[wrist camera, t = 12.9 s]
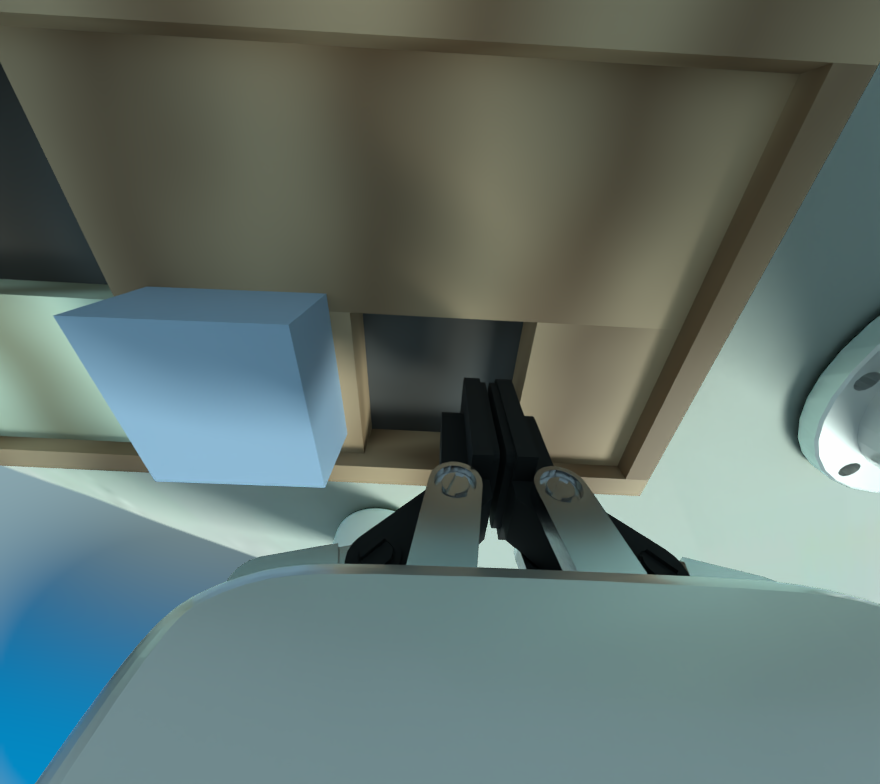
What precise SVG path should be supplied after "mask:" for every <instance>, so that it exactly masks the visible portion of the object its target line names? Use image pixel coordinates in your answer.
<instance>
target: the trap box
mask: <svg viewBox="0 0 880 784" xmlns="http://www.w3.org/2000/svg"><path fill="white" fill-rule="evenodd" d="M879 63H880V0H0V465H2V466H22V467H43V468H64V469H85V470H106V471H127V472H148V473H150V472H149V471H148V469H147V467H146V466H145V464H144V463H143V461H142V459H141V458H140V456H139V454H138V453H137V451H136V450H135V448H134V446H133V445H132V443H131V441H130V440H129V438H128V437H127V435H126V433H125V432H124V430H123V429H122V427H121V425H120V424H119V422H118V420H117V419H116V417H115V416H114V414H113V412H112V411H111V409H110V407H109V406H108V404H107V403H106V401H105V399H104V398H103V396H102V394H101V393H100V391H99V390H98V388H97V386H96V385H95V383H94V381H93V380H92V378H91V377H90V375H89V373H88V372H87V370H86V369H85V367H84V365H83V364H82V362H81V360H80V359H79V357H78V356H77V354H76V352H75V351H74V349H73V347H72V346H71V344H70V343H69V341H68V339H67V338H66V336H65V334H64V333H63V331H62V330H61V328H60V326H59V325H58V323H57V321H56V320H55V318H54V317H53V315H57V314H60V313H63V312H66V311H69V310H73V309H76V308H79V307H82V306H86V305H89V304H92V303H95V302H98V301H102V300H105V299H108V298H111V297H115V296H118V295H121V294H124V293H128V292H131V291H134V290H137V289H140V288H144V287H171V288H196V289H221V290H247V291H272V292H298V293H323V294H326V295H327V302H328V308H329V315H330V322H331V328H332V335H333V342H334V348H335V355H336V361H337V368H338V375H339V381H340V388H341V395H342V401H343V408H344V414H345V421H346V428H347V436H346V438H345V441H344V443H343V446H342V448H341V450H340V453H339V455H338V458H337V460H336V462H335V465H334V467H333V470H332V472H331V475H330V477H329V479H328V481H336V482H357V483H378V484H399V485H420V486H427V482H428V478H429V476H430V474H431V471H432V470H433V469H434V468H435V467H436V466H438V465H439V456H440V430H441V415H442V412H454V413H460V409H461V399H462V389H463V380H464V377H466V378H479V379H480V382H485V384H486V388H487V392H488V385H489V383H494V381H495V379H508V380H512V383H513V385H514V388H515V391H516V394H517V397H518V399H519V402H520V405H521V408H522V411H523V413H524V416H533V417H534V418H535V420H536V423H537V425H538V428H539V430H540V433H541V435H542V438H543V440H544V443H545V445H546V448H547V450H548V453H549V455H550V458H551V460H552V463H553V465H554V466H558V467H562V468H566V469H568V470H570V471H572V472H574V473H576V474H577V475H578V476H580V477H581V478H582V479H583V480H584V481H585V483H586V484H587V485H588V487H589V488H590V490H591V491H592V493H593V494H608V495H629V496H640V495H641V493H642V491H643V489H644V488H645V486H646V484H647V482H648V480H649V479H650V477H651V475H652V473H653V471H654V469H655V468H656V466H657V464H658V462H659V460H660V459H661V457H662V455H663V453H664V451H665V450H666V448H667V446H668V444H669V442H670V441H671V439H672V437H673V435H674V433H675V432H676V430H677V428H678V426H679V424H680V423H681V421H682V419H683V417H684V415H685V413H686V412H687V410H688V408H689V406H690V404H691V403H692V401H693V399H694V397H695V395H696V394H697V392H698V390H699V388H700V386H701V385H702V383H703V381H704V379H705V377H706V376H707V374H708V372H709V370H710V368H711V367H712V365H713V363H714V361H715V359H716V358H717V356H718V354H719V352H720V350H721V348H722V347H723V345H724V343H725V341H726V339H727V338H728V336H729V334H730V332H731V330H732V329H733V327H734V325H735V323H736V321H737V320H738V318H739V316H740V314H741V312H742V311H743V309H744V307H745V305H746V303H747V302H748V300H749V298H750V296H751V294H752V292H753V291H754V289H755V287H756V285H757V283H758V282H759V280H760V278H761V276H762V274H763V273H764V271H765V269H766V267H767V265H768V264H769V262H770V260H771V258H772V256H773V255H774V253H775V251H776V249H777V247H778V246H779V244H780V242H781V240H782V238H783V237H784V235H785V233H786V231H787V229H788V227H789V226H790V224H791V222H792V220H793V218H794V217H795V215H796V213H797V211H798V209H799V208H800V206H801V204H802V202H803V200H804V199H805V197H806V195H807V193H808V191H809V190H810V188H811V186H812V184H813V182H814V181H815V179H816V177H817V175H818V173H819V171H820V170H821V168H822V166H823V164H824V162H825V161H826V159H827V157H828V155H829V153H830V152H831V150H832V148H833V146H834V144H835V143H836V141H837V139H838V137H839V135H840V134H841V132H842V130H843V128H844V126H845V125H846V123H847V121H848V119H849V117H850V116H851V114H852V112H853V110H854V108H855V106H856V105H857V103H858V101H859V99H860V97H861V96H862V94H863V92H864V90H865V88H866V87H867V85H868V83H869V81H870V79H871V78H872V76H873V74H874V72H875V70H876V69H877V67H878V65H879Z"/></svg>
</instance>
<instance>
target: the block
mask: <svg viewBox="0 0 880 784" xmlns="http://www.w3.org/2000/svg"><path fill="white" fill-rule="evenodd" d="M53 317H54V318H55V320H56V321H57V323H58V325H59V326H60V328H61V330H62V331H63V333H64V334H65V336H66V338H67V339H68V341H69V343H70V344H71V346H72V347H73V349H74V351H75V352H76V354H77V356H78V357H79V359H80V360H81V362H82V364H83V365H84V367H85V369H86V370H87V372H88V373H89V375H90V377H91V378H92V380H93V381H94V383H95V385H96V386H97V388H98V390H99V391H100V393H101V394H102V396H103V398H104V399H105V401H106V403H107V404H108V406H109V407H110V409H111V411H112V412H113V414H114V416H115V417H116V419H117V420H118V422H119V424H120V425H121V427H122V429H123V430H124V432H125V433H126V435H127V437H128V438H129V440H130V441H131V443H132V445H133V446H134V448H135V450H136V451H137V453H138V454H139V456H140V458H141V459H142V461H143V463H144V464H145V466H146V467H147V469H148V471H149V472H150V474H151V476H152V477H153V479H154V480H155V481H160V482H186V483H213V484H239V485H265V486H292V487H318V488H325V487H326V484H327V482H328V479H329V477H330V475H331V472H332V470H333V467H334V465H335V462H336V460H337V458H338V455H339V453H340V450H341V448H342V446H343V443H344V441H345V438H346V436H347V428H346V421H345V414H344V408H343V401H342V395H341V388H340V381H339V375H338V368H337V361H336V355H335V348H334V342H333V335H332V328H331V322H330V315H329V308H328V302H327V295H326V294H323V293H298V292H272V291H247V290H221V289H196V288H171V287H144V288H140V289H137V290H134V291H131V292H128V293H124V294H121V295H118V296H115V297H111V298H108V299H105V300H102V301H98V302H95V303H92V304H89V305H86V306H82V307H79V308H76V309H73V310H69V311H66V312H63V313H60V314H57V315H53Z"/></svg>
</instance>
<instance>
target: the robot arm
mask: <svg viewBox="0 0 880 784" xmlns="http://www.w3.org/2000/svg"><path fill="white" fill-rule="evenodd" d="M798 440H799V443H800V447H801V451H802V453H803V454H804V456H805V457H806V458H807V460H808V461H809V462H810V464H812V465H813V466H814V467H816V468H817V469H818V470H820V471H821V472H822V473H823V474H825V475H826V476H827V477H829V478H830V479H832V480H833V481H835V482H837V483H840V484H842V485H844V486H846V487H849V488H853V489H858V490H863V491H867V492H880V316H878V317H877V318H876V319H874V320H873V321H872V322H871V323H869V324H868V325H867V326H866V327H865V328H864V329H863V330H862V331H861V332H860V333H859V334H858V335H857V336H856V337H854V338H853V339H852V340H851V341H850V342H849V343H848V344H847V345H846V346H845V347H844V348H843V349H842V350H841V351H840V352H839V353H838V355H837V356H836V357H835V358H834V360H833V361H832V362H831V363H830V364H829V366H828V367H827V368H826V369H825V370H824V372H823V373H822V374H821V375H820V377H819V379H818V380H817V382H816V384H815V385H814V387H813V389H812V390H811V392H810V394H809V395H808V397H807V399H806V402H805V405H804V408H803V411H802V413H801V416H800V419H799V430H798ZM489 518H490V525H491V528H497V534H498V540H506V541H507V542H509V543H510V544H511V545H512V546H513V547H514V555H515V560H516V562H517V565H518V568H519V569H506V568H479V567H477V563H478V548H479V544H480V543H481V542H482V541H483V540H484V537H485V532H486V528H487V524H488V519H489ZM35 784H880V605H879V604H877V603H874V602H871V601H868V600H865V599H861V598H857V597H854V596H850V595H846V594H842V593H838V592H834V591H831V590H826V589H820V588H814V587H809V586H803V585H797V584H789V583H780V582H776V581H774V580H771V579H768V578H766V577H762V576H758V575H754V574H750V573H746V572H742V571H738V570H734V569H730V568H726V567H721V566H717V565H713V564H709V563H705V562H701V561H697V560H693V559H689V558H685V557H682V558H681V560H680V561H678V559H677V558H676V557H675V556H673V555H672V554H671V553H669V552H668V551H667V550H665V549H664V548H662V547H661V546H659V545H657V544H656V543H654V542H653V541H651V540H649V539H648V538H646V537H645V536H643V535H641V534H640V533H638V532H637V531H635V530H633V529H632V528H630V527H629V526H627V525H625V524H624V523H622V522H621V521H619V520H617V519H616V518H614V517H613V516H611V515H609V514H608V513H606V512H605V510H604V509H603V507H602V506H601V504H600V503H599V501H598V500H597V498H596V497H595V496H594V494H593V493H592V491H591V490H590V488H589V487H588V485H587V484H586V483H585V481H584V480H583V479H582V478H581V477H580V476H578V475H577V474H576V473H574V472H572V471H570V470H568V469H566V468H562V467H558V466H554V465H553V463H552V460H551V458H550V455H549V453H548V450H547V448H546V445H545V443H544V440H543V438H542V435H541V433H540V430H539V428H538V425H537V423H536V420H535V418H534V417H533V416H524V413H523V411H522V408H521V405H520V402H519V399H518V397H517V394H516V391H515V388H514V385H513V383H512V380H508V379H495V381H494V383H489V385H488V392H487V388H486V384H485V382H480V379H479V378H466V377H464V380H463V389H462V399H461V409H460V413H454V412H442V415H441V430H440V456H439V465H438V466H436V467H435V468H434V469H433V470H432V471H431V474H430V476H429V478H428V482H427V486H426V490H425V491H423V492H422V493H421V494H419V495H418V496H416V497H415V498H414V499H412V500H411V501H409V502H408V503H406V504H405V505H404V506H402V507H401V508H399V509H398V510H397V511H395V512H394V513H392V514H391V515H389V516H388V517H387V518H385V519H384V520H382V521H381V522H380V523H378V524H377V525H375V526H374V527H372V528H371V529H370V530H368V531H367V532H365V533H364V534H363V535H361V536H360V537H359V538H358V539H356V540H355V541H354V542H353V543H352V545H348V546H342V547H339V544H338V543H335V544H330V545H324V546H318V547H312V548H307V549H301V550H295V551H290V552H284V553H278V554H273V555H267V556H261V557H258V558H255V559H252V560H249V561H248V562H246V563H244V564H243V565H241V566H240V567H238V568H237V569H236V570H235V571H234V572H233V574H232V575H231V576H230V577H229V578H228V580H227V582H224V583H222V584H219V585H217V586H214V587H212V588H210V589H207V590H205V591H203V592H202V593H199V594H198V595H196V596H193V597H192V598H190V599H188V600H187V601H185V602H184V603H182V604H181V605H179V606H178V607H176V608H175V609H174V610H172V612H170V613H169V614H168V615H167V616H165V618H163V619H162V620H161V621H160V622H159V623H158V624H157V625H156V626H155V627H154V628H153V629H152V630H151V631H150V632H149V633H148V634H147V635H146V637H145V638H144V639H143V640H142V641H141V642H140V643H139V644H138V645H137V647H136V648H135V649H134V650H133V652H132V653H131V654H130V655H129V656H128V658H127V659H126V660H125V661H124V662H123V664H122V665H121V666H120V668H119V669H118V670H117V671H116V673H115V674H114V675H113V677H112V678H111V679H110V681H109V682H108V683H107V685H106V686H105V687H104V688H103V690H102V691H101V693H100V694H99V695H98V697H97V698H96V699H95V701H94V702H93V704H92V705H91V706H90V707H89V709H88V710H87V712H86V713H85V714H84V716H83V717H82V718H81V720H80V721H79V722H78V724H77V725H76V727H75V728H74V729H73V731H72V732H71V734H70V735H69V736H68V738H67V740H66V741H65V742H64V744H63V745H62V746H61V748H60V749H59V751H58V752H57V754H56V755H55V756H54V758H53V760H52V761H51V762H50V764H49V765H48V767H47V768H46V769H45V771H44V772H43V774H42V775H41V776H40V778H39V779H38V781H37V782H36V783H35Z"/></svg>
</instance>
